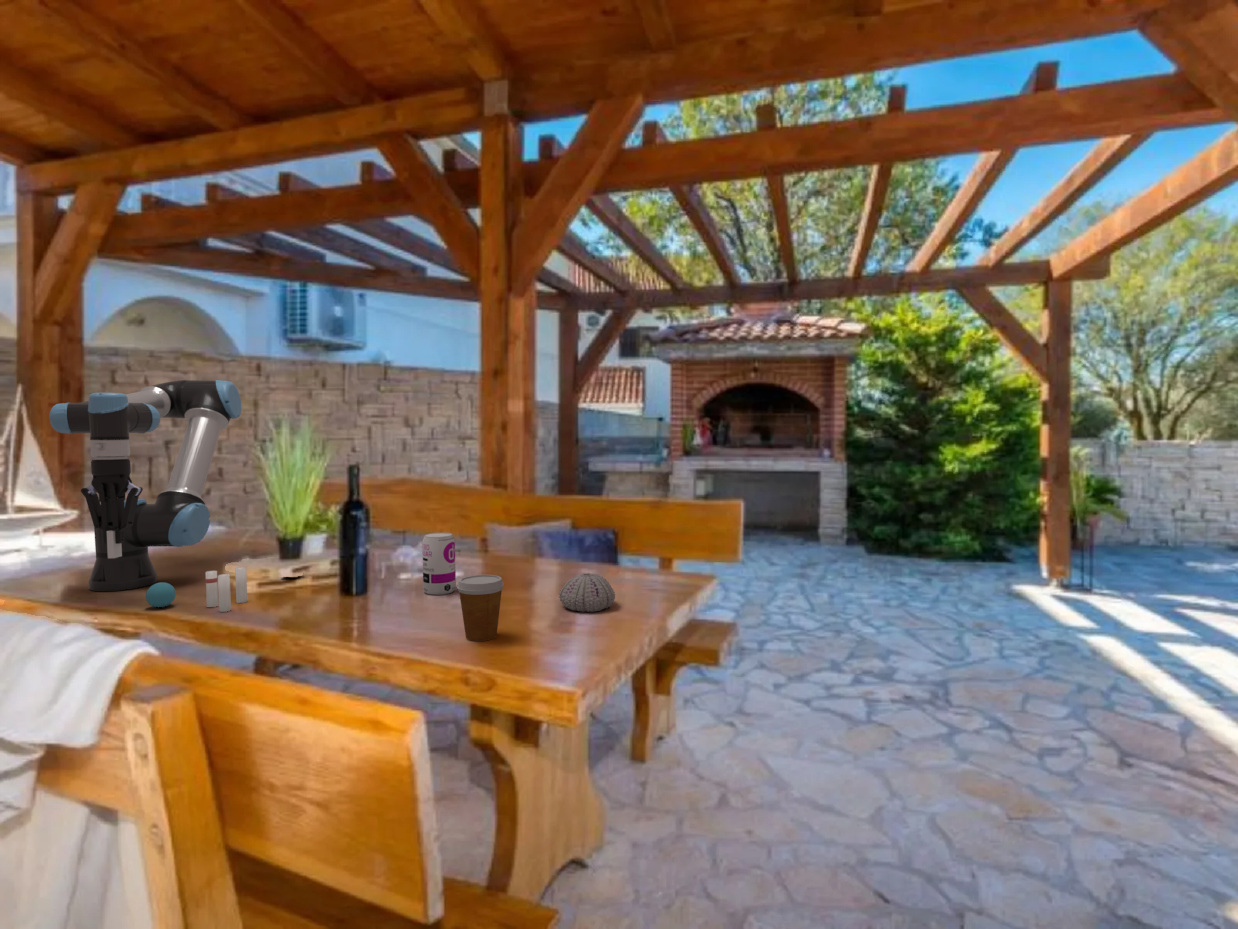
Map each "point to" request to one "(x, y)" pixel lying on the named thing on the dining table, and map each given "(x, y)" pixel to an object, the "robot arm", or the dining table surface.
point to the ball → (160, 594)
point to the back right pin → (224, 592)
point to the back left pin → (241, 584)
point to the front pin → (211, 588)
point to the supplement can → (439, 563)
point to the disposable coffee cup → (480, 605)
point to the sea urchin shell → (587, 593)
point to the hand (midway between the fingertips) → (114, 557)
